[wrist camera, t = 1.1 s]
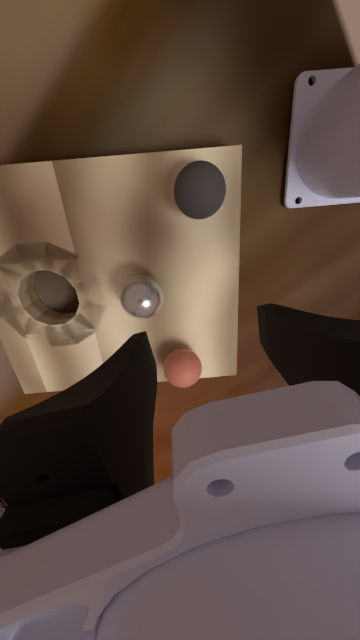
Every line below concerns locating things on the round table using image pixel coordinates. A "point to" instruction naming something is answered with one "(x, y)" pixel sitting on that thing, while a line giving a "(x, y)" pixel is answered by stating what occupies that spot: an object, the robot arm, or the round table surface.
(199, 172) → the black rubber ball
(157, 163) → the plate
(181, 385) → the brick-red wooden ball
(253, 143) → the round table surface
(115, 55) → the round table surface
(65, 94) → the round table surface
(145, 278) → the steel ball
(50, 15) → the round table surface
